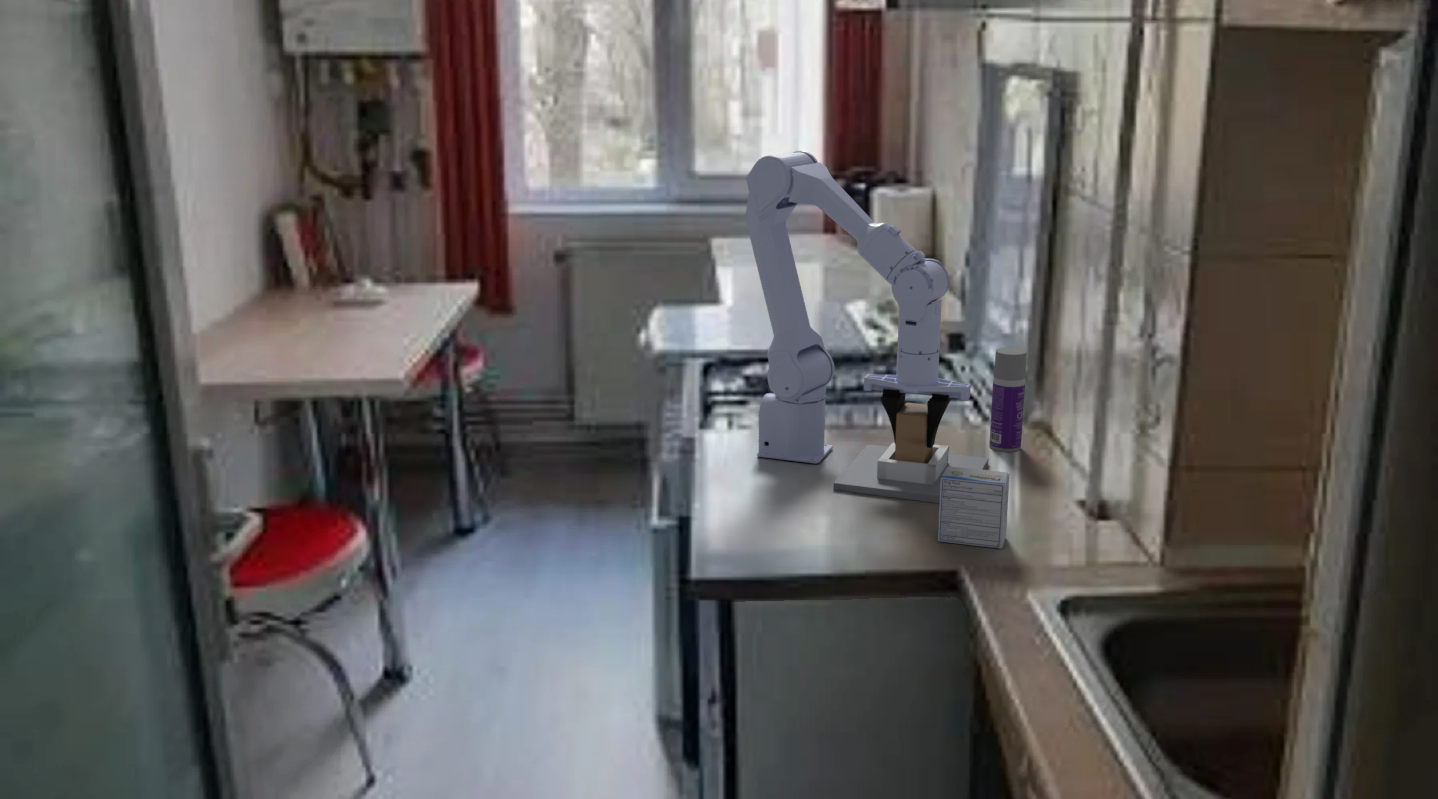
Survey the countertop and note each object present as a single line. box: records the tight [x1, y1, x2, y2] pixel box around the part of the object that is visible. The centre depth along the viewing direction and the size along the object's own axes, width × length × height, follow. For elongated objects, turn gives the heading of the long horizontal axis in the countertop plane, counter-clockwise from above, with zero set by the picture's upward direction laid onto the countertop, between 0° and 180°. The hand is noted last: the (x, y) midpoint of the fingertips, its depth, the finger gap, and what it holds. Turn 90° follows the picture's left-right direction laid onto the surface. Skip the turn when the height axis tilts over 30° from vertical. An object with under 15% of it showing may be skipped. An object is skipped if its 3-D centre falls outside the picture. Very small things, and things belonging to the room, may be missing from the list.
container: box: [988, 346, 1027, 453], centre depth 190 cm, size 5×5×15 cm
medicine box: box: [937, 466, 1011, 550], centre depth 156 cm, size 8×4×9 cm, turn 71°
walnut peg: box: [895, 402, 933, 464], centre depth 178 cm, size 6×4×8 cm, turn 159°
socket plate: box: [833, 440, 989, 504], centre depth 179 cm, size 18×18×4 cm
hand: (914, 443), depth 178 cm, fingers closed on walnut peg, 4 cm apart
